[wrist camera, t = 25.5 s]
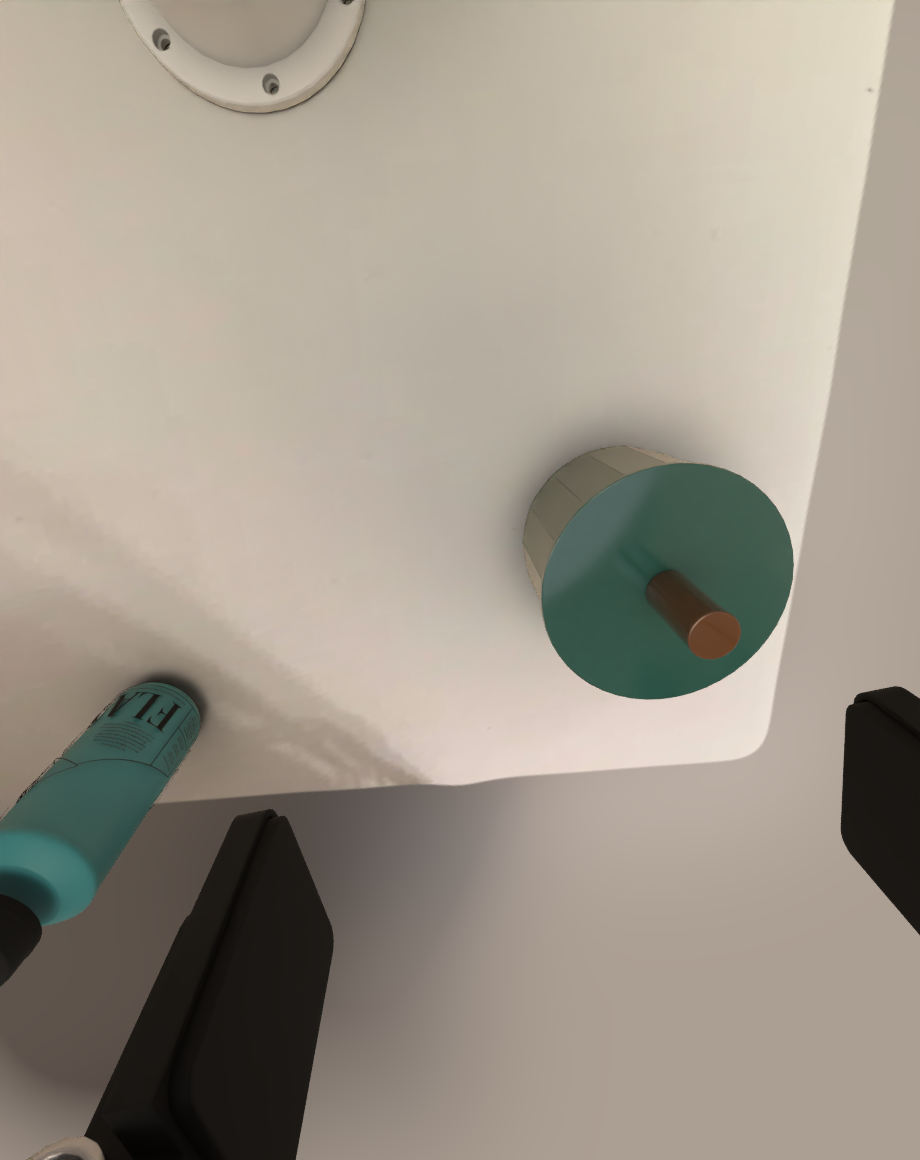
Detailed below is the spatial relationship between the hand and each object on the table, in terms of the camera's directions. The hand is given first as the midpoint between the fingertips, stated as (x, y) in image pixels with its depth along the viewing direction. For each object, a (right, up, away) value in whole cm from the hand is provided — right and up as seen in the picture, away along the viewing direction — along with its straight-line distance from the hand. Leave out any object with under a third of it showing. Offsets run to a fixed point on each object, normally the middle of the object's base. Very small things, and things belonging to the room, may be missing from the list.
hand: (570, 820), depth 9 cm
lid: (+9, +4, +21) cm, 23 cm away
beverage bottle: (-24, -6, +34) cm, 42 cm away
